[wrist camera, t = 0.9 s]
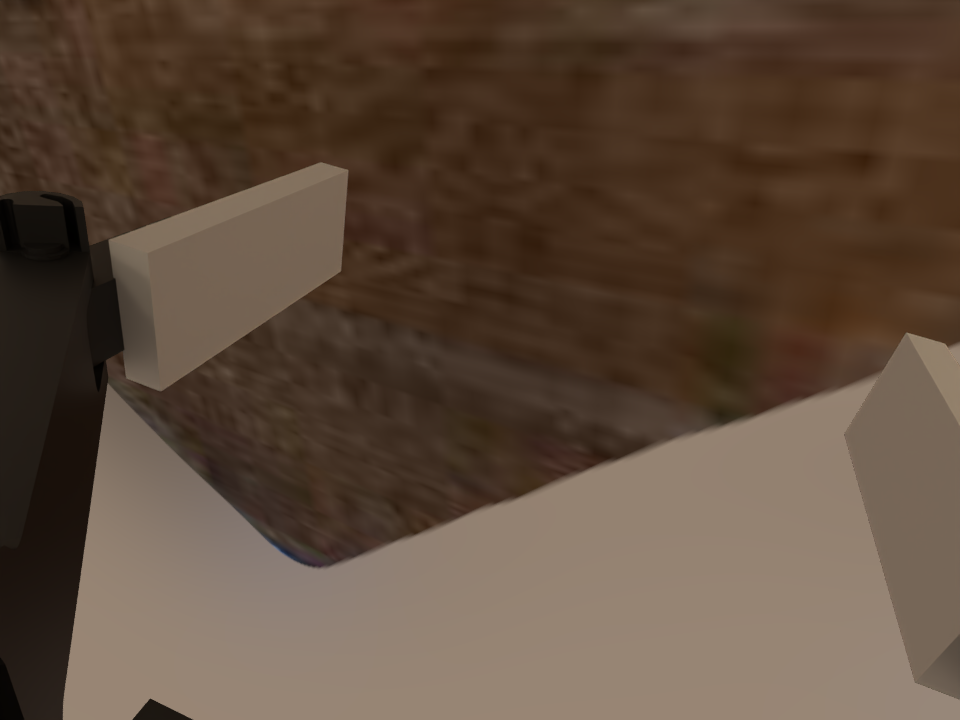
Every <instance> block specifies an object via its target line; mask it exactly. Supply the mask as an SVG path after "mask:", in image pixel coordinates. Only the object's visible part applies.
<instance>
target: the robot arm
mask: <svg viewBox="0 0 960 720" xmlns="http://www.w3.org/2000/svg"><path fill="white" fill-rule="evenodd" d="M347 182H348V170H346V169H342V168H339V167H335V166H332V165H328V164H325V163H322V162H321V163H318V164H315V165H312V166H310V167H307V168H304V169H301V170H299V171H296V172H293V173H290V174H288V175H285V176H282V177H279V178H277V179H274V180H271V181H269V182H266V183H263V184H260V185H258V186H255V187H252V188H249V189H247V190H244V191H241V192H238V193H236V194H233V195H230V196H227V197H225V198H222V199H219V200H216V201H214V202H211V203H208V204H205V205H203V206H200V207H197V208H195V209H192V210H189V211H186V212H184V213H181V214H178V215H175V216H172V217H168V218H165V219H162V220H159V221H157V222H154V223H151V224H149V225H148V226H143V227H140V228H137V229H135V230H134V231H131V232H130V231H129V232H126V233H124V234H121V235H118V236H115V237H113V238H110V239H107V240H104V241H102V242H99V243H96V244H93V245H91V246H89V242H88V235H87V228H86V222H85V215H84V208H83V204H82V201H80V200H78V199H76V198H75V197H73V196H69V195H65V194H61V193H54V192H45V191H24V192H17V193H9V194H5V195H2V196H0V720H63V698H64V690H65V683H66V675H67V668H68V661H69V654H70V647H71V640H72V633H73V625H74V618H75V611H76V604H77V597H78V590H79V582H80V575H81V568H82V561H83V554H84V547H85V540H86V533H87V525H88V518H89V511H90V504H91V497H92V490H93V482H94V475H95V468H96V461H97V454H98V447H99V440H100V432H101V425H102V418H103V411H104V404H105V397H106V390H107V383H108V372H107V365H106V360H107V359H109V358H111V357H112V356H114V355H116V354H118V353H120V352H121V351H123V357H124V364H125V372H126V378H127V379H130V380H132V381H135V382H137V383H140V384H143V385H145V386H148V387H150V388H153V389H156V390H158V391H162V390H164V389H165V388H167V387H168V386H170V385H171V384H173V383H174V382H176V381H177V380H179V379H180V378H182V377H183V376H185V375H186V374H188V373H189V372H191V371H192V370H194V369H195V368H197V367H198V366H200V365H201V364H203V363H204V362H206V361H207V360H209V359H210V358H212V357H213V356H215V355H216V354H218V353H219V352H221V351H222V350H224V349H225V348H227V347H228V346H230V345H231V344H233V343H234V342H236V341H237V340H239V339H240V338H242V337H243V336H245V335H246V334H248V333H249V332H251V331H252V330H254V329H255V328H257V327H258V326H260V325H261V324H263V323H264V322H266V321H267V320H269V319H270V318H272V317H273V316H275V315H276V314H278V313H279V312H281V311H282V310H284V309H285V308H287V307H288V306H290V305H291V304H293V303H294V302H296V301H297V300H299V299H300V298H302V297H303V296H305V295H306V294H308V293H309V292H311V291H312V290H314V289H315V288H317V287H318V286H320V285H321V284H323V283H324V282H326V281H327V280H329V279H330V278H332V277H333V276H335V275H336V274H338V273H339V272H341V263H342V249H343V236H344V222H345V209H346V195H347ZM844 436H845V439H846V442H847V446H848V450H849V453H850V456H851V460H852V464H853V467H854V471H855V474H856V478H857V481H858V485H859V488H860V492H861V495H862V499H863V502H864V505H865V509H866V512H867V516H868V520H869V523H870V527H871V530H872V534H873V537H874V541H875V544H876V547H877V551H878V555H879V558H880V562H881V565H882V568H883V572H884V576H885V579H886V583H887V586H888V590H889V593H890V596H891V600H892V603H893V607H894V611H895V614H896V618H897V621H898V625H899V628H900V632H901V635H902V639H903V642H904V645H905V649H906V653H907V656H908V660H909V663H910V667H911V670H912V674H913V677H914V680H915V683H918V684H920V685H923V686H926V687H928V688H931V689H933V690H936V691H939V692H941V693H944V694H946V695H949V696H952V697H954V698H957V699H960V365H959V364H958V362H957V361H956V359H955V358H954V356H953V355H952V353H951V352H950V350H949V349H948V347H947V346H946V344H944V343H941V342H937V341H934V340H930V339H927V338H923V337H920V336H916V335H913V334H910V333H906V334H905V335H904V337H903V339H902V340H901V342H900V344H899V345H898V347H897V349H896V350H895V352H894V353H893V355H892V357H891V358H890V360H889V362H888V363H887V365H886V367H885V368H884V370H883V372H882V373H881V375H880V376H879V378H878V380H877V381H876V383H875V385H874V386H873V388H872V390H871V392H870V393H869V394H868V396H867V398H866V399H865V401H864V403H863V404H862V406H861V408H860V409H859V411H858V413H857V414H856V416H855V418H854V419H853V421H852V422H851V424H850V426H849V427H848V429H847V431H846V432H845V434H844ZM133 720H192V719H191V718H188V717H186V716H184V715H182V714H180V713H178V712H176V711H174V710H172V709H170V708H168V707H166V706H164V705H162V704H160V703H158V702H156V701H154V700H152V699H149V701H148V702H147V703H146V704H145V705H144V707H143V708H142V709H141V710H140V711H139V713H138V714H137V715H136V716H135V717H134V718H133Z"/></svg>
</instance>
